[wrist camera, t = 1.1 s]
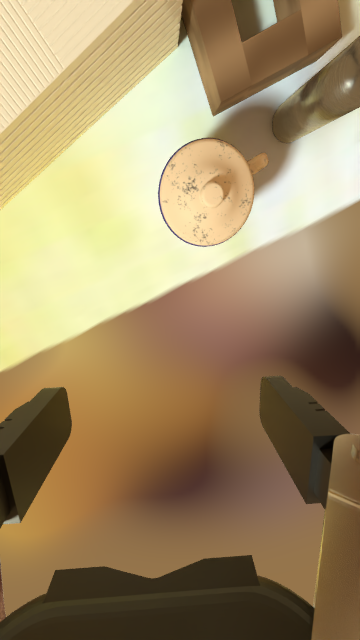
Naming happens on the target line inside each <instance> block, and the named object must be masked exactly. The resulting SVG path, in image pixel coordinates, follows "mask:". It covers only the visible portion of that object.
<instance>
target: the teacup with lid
mask: <svg viewBox="0 0 360 640" xmlns="http://www.w3.org/2000/svg"><path fill="white" fill-rule="evenodd" d="M268 162H269V161H268V157H267V154H266V153H261V154H259V155H257V156H255V157H254V158H252V159H250V160H249V161H246V159H245V158H244V156H243V155H242V154H241V153H240V152H239V151H238V150H237V149H236V148H235V147H234V146H232V145H231V144H229V143H227V142H225V141H223V140H219V139H215V138H202V139H197V140H194V141H191V142H189V143H187V144H185V145H184V146H182V147H181V148H180V149H178V150H177V151H176V152H175V153H174V154H173V155H172V157H171V158H170V159H169V161H168V162H167V164H166V166H165V168H164V170H163V172H162V175H161V179H160V183H159V191H158V199H159V206H160V210H161V214H162V216H163V219H164V221H165V223H166V224H167V226H168V227H169V229H170V230H171V231H172V232H173V233H174V234H175V235H176V236H177V237H178V238H180V239H181V240H183V241H184V242H186V243H189V244H191V245H195V246H203V247H206V246H214V245H217V244H220V243H223V242H225V241H226V240H228V239H230V238H231V237H232V236H234V235H235V234H236V233H237V232H238V231H239V230H240V229H241V227H242V226H243V225H244V223H245V222H246V220H247V218H248V216H249V214H250V211H251V208H252V204H253V199H254V181H253V176H252V175H254V174H255V173H257V172H258V171H260V170H261V169H263V168H264V167H266V166H267V164H268Z"/></svg>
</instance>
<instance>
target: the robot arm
mask: <svg viewBox="0 0 360 640" xmlns="http://www.w3.org/2000/svg"><path fill="white" fill-rule="evenodd" d="M260 390H261V391H260V419H261V423H262V426H263V428H264V429H265V431H266V433H267V435H268V437H269V438H270V440H271V442H272V443H273V445H274V447H275V449H276V451H277V453H278V455H279V456H280V458H281V460H282V462H283V463H284V465H285V467H286V469H287V471H288V472H289V474H290V476H291V478H292V479H293V481H294V483H295V485H296V487H297V488H298V490H299V492H300V494H301V495H302V497H303V499H304V501H305V503H306V504H312V503H321V504H322V506H323V507H324V509H325V514H324V522H323V530H322V538H321V546H320V555H319V563H318V571H317V579H316V588H315V596H314V604H313V607H312V606H311V605H310V604H309V603H308V602H307V601H305V600H304V599H303V598H301V597H300V596H299V595H297V594H296V593H294V592H293V591H291V590H290V589H288V588H286V587H284V586H282V585H281V584H279V583H277V582H274V581H272V580H270V579H267V578H264V577H261V576H257V574H256V570H255V566H254V562H253V559H252V555H247V556H235V557H222V558H209V559H203V560H200V561H198V562H195V563H193V564H190V565H188V566H186V567H183V568H181V569H178V570H176V571H173V572H171V573H169V574H166V575H164V576H162V577H159V578H154V579H151V578H146V577H142V576H138V575H135V574H131V573H127V572H123V571H120V570H116V569H112V568H108V567H91V568H78V569H66V570H55V573H54V575H53V578H52V581H51V583H50V586H49V589H48V592H47V593H46V594H43V595H41V596H39V597H37V598H35V599H33V600H31V601H29V602H28V603H26V604H25V605H23V606H21V607H20V608H19V609H17V610H15V611H14V612H12V613H11V614H10V615H9V616H7V617H6V614H5V607H4V597H3V586H2V575H1V564H0V640H360V435H355V434H350V433H349V432H348V431H347V430H346V429H345V428H344V427H343V426H342V425H341V424H340V423H339V422H338V421H337V420H335V418H334V417H333V416H331V415H330V414H329V413H328V412H327V411H325V409H324V408H323V407H322V406H321V405H320V404H318V403H317V401H316V400H315V399H314V398H313V397H312V396H310V394H308V393H306V392H304V391H303V390H301V389H299V388H297V387H292V386H291V385H290V384H289V383H288V382H287V381H286V380H285V378H284V377H282V376H270V377H262V379H261V388H260ZM71 426H72V421H71V415H70V409H69V403H68V397H67V392H66V389H65V388H64V387H59V388H44V389H42V390H41V391H40V392H39V393H38V394H37V395H36V396H35V397H34V398H33V399H32V400H31V401H30V402H27V403H25V404H24V405H22V406H20V407H19V408H17V409H15V410H14V411H13V412H12V413H11V414H10V415H9V416H8V417H7V418H6V419H5V421H3V422H2V423H0V528H1V526H2V525H3V524H10V523H21V521H22V519H23V517H24V516H25V514H26V512H27V510H28V509H29V507H30V505H31V503H32V502H33V500H34V498H35V496H36V495H37V493H38V491H39V489H40V488H41V486H42V484H43V482H44V481H45V479H46V477H47V475H48V474H49V472H50V470H51V468H52V466H53V465H54V463H55V461H56V460H57V458H58V456H59V454H60V452H61V451H62V449H63V447H64V445H65V444H66V442H67V440H68V438H69V436H70V433H71Z"/></svg>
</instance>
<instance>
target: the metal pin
mask: <svg viewBox="0 0 360 640" xmlns="http://www.w3.org/2000/svg"><path fill="white" fill-rule="evenodd" d="M359 107H360V36H359V37H358V38H357V39H356V40H355V41H353V42H352V43H351V44H350V45H349V46H348V47H347V48H345V49H344V50H343V51H342V52H341V53H340V54H339V55H337V56H336V57H335V58H334V59H333V60H332V61H331V62H329V63H328V64H327V65H326V66H325V67H324V68H323V69H321V70H320V71H319V72H318V73H317V74H316V75H315V76H313V77H312V78H311V79H310V80H309V81H308V82H307V83H305V84H304V85H303V86H302V87H301V88H300V89H298V90H297V91H296V92H295V93H294V94H293V95H292V96H290V97H289V98H288V99H287V100H286V101H285V102H284V103H282V104H281V105H280V106H279V108H278V109H277V110H276V112H275V114H274V117H273V122H272V128H273V133H274V135H275V137H276V138H277V139H278V140H279V141H280V142H283V143H291V142H293V141H295V140H297V139H299V138H301V137H303V136H305V135H307V134H309V133H311V132H312V131H314V130H316V129H318V128H320V127H322V126H324V125H326V124H328V123H330V122H332V121H334V120H336V119H338V118H339V117H341V116H343V115H345V114H347V113H349V112H351V111H353V110H355V109H357V108H359Z"/></svg>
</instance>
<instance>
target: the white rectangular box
mask: <svg viewBox="0 0 360 640" xmlns="http://www.w3.org/2000/svg"><path fill="white" fill-rule="evenodd" d="M182 3H183V0H0V210H1V209H2V208H3V207H4V206H5V205H6V204H7V203H8V202H10V201H11V200H12V199H13V198H14V197H15V196H16V195H17V194H18V193H19V192H20V191H22V190H23V189H24V188H25V187H26V186H27V185H28V184H29V183H30V182H31V181H32V180H34V179H35V178H36V177H37V176H38V175H39V174H40V173H41V172H42V171H43V170H44V169H45V168H47V167H48V166H49V165H50V164H51V163H52V162H53V161H54V160H55V159H56V158H57V157H59V156H60V155H61V154H62V153H63V152H64V151H65V150H66V149H67V148H68V147H69V146H71V145H72V144H73V143H74V142H75V141H76V140H77V139H78V138H79V137H80V136H81V135H83V134H84V133H85V132H86V131H87V130H88V129H89V128H90V127H91V126H92V125H93V124H94V123H96V122H97V121H98V120H99V119H100V118H101V117H102V116H103V115H104V114H105V113H106V112H108V111H109V110H110V109H111V108H112V107H113V106H114V105H115V104H116V103H117V102H118V101H120V100H121V99H122V98H123V97H124V96H125V95H126V94H127V93H128V92H129V91H130V90H132V89H133V88H134V87H135V86H136V85H137V84H138V83H139V82H140V81H141V80H142V79H144V78H145V77H146V76H147V75H148V74H149V73H150V72H151V71H152V70H153V69H154V68H155V67H157V66H158V65H159V64H160V63H161V62H162V61H163V60H164V59H165V58H166V57H167V56H169V55H170V54H171V53H172V52H173V51H174V50H175V49H176V48H177V47H178V39H179V36H178V35H179V28H180V21H181V12H182Z"/></svg>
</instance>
